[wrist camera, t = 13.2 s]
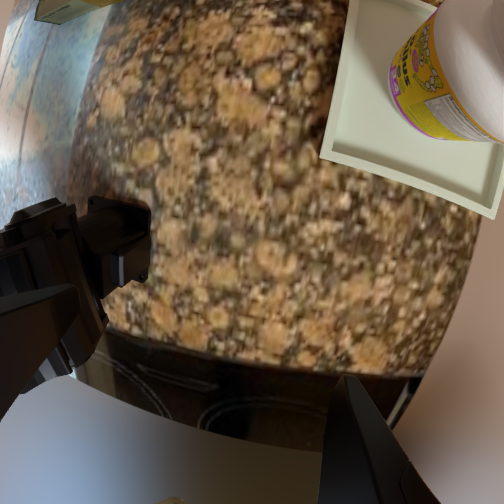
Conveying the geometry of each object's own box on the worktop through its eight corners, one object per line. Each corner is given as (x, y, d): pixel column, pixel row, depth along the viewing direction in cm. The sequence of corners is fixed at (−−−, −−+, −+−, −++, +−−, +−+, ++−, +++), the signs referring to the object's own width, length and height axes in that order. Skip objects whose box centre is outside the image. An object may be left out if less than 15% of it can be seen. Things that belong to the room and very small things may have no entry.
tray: (319, 156, 18) (319, 157, 16) (351, -11, 13) (353, -22, 11) (483, 214, 16) (494, 220, 15) (508, 59, 11) (518, 55, 10)
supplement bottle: (409, 28, 12) (496, -73, 1) (484, 90, 13) (616, 70, 1) (366, 98, 15) (454, 21, 3) (446, 161, 15) (591, 203, 4)
